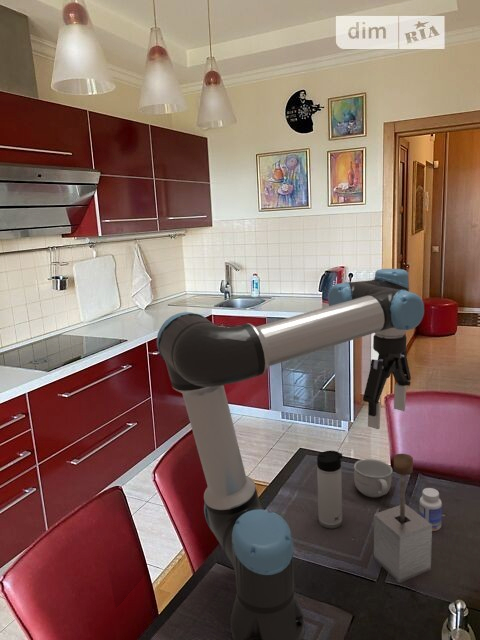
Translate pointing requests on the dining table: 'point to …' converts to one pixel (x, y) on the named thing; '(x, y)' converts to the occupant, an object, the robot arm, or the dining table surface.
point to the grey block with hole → (402, 543)
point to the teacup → (372, 477)
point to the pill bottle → (431, 507)
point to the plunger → (403, 478)
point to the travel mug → (329, 489)
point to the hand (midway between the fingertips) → (387, 418)
